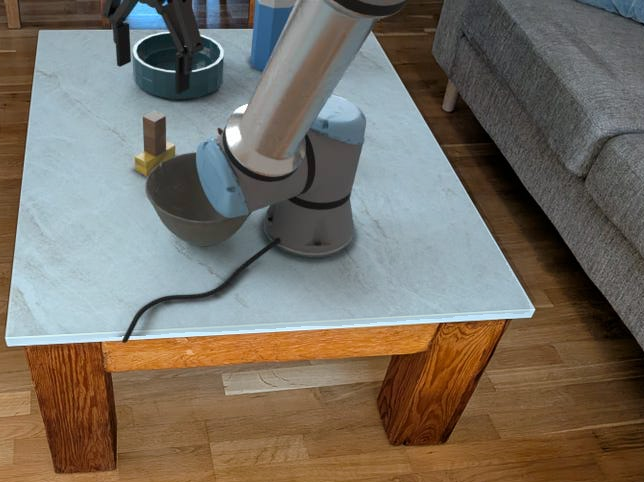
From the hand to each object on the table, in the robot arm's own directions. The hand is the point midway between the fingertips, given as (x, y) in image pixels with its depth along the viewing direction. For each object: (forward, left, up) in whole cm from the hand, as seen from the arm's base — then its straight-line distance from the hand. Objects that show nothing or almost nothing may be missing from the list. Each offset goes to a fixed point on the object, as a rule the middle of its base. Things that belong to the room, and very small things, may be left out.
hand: (152, 77), depth 115 cm
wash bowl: (+28, +19, -17) cm, 38 cm away
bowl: (-10, -20, -17) cm, 28 cm away
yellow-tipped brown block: (0, 0, -17) cm, 17 cm away
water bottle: (+49, +9, -17) cm, 53 cm away
